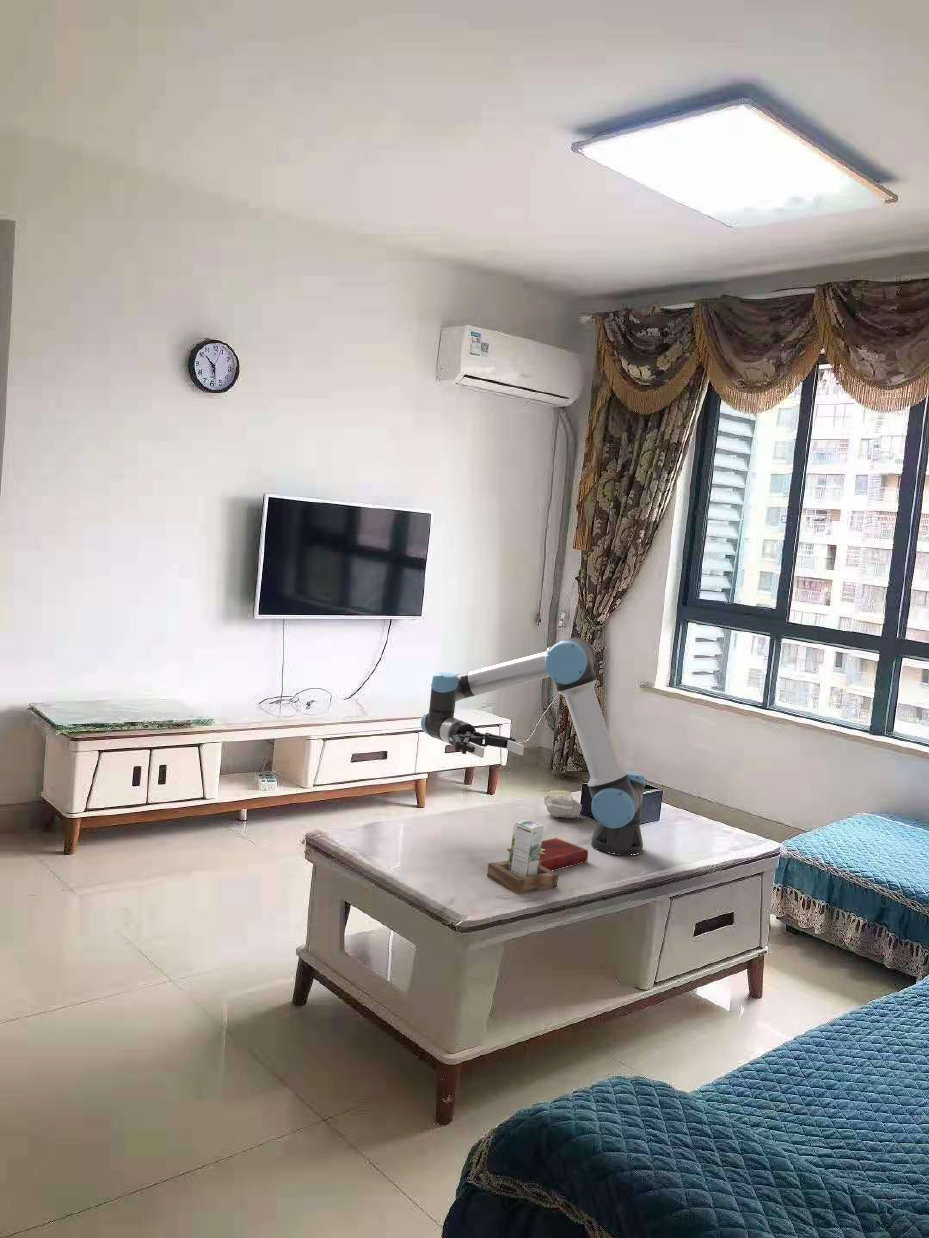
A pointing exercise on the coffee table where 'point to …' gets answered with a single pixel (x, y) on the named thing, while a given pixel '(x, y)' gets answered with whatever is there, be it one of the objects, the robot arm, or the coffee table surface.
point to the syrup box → (526, 848)
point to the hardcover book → (559, 854)
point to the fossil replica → (562, 804)
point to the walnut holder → (522, 878)
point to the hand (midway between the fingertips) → (503, 751)
